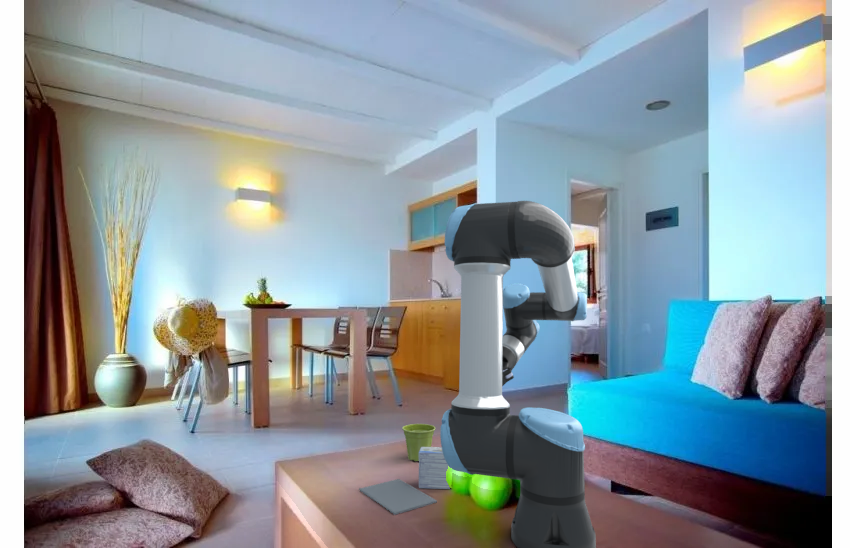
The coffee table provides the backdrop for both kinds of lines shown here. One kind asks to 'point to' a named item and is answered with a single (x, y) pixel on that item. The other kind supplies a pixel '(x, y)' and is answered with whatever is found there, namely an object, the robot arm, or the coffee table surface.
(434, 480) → the medicine box
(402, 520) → the coffee table surface
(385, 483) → the mat
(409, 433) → the plant pot
